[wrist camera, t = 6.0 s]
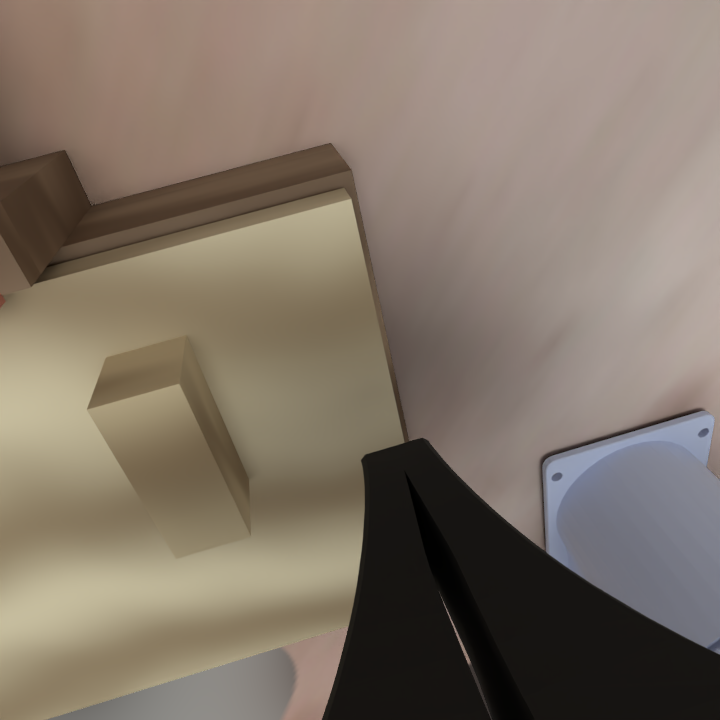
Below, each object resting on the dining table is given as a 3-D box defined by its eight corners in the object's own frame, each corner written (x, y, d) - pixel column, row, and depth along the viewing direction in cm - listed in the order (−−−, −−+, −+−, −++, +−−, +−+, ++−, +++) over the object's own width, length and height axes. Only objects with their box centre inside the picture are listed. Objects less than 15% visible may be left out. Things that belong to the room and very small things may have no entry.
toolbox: (413, 509, 26) (457, 628, 21) (13, 628, 25) (-42, 784, 20) (317, 85, 16) (355, 115, 11) (-339, 253, 15) (-616, 369, 10)
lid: (430, 576, 22) (458, 653, 20) (-15, 713, 21) (-51, 813, 19) (343, 187, 14) (371, 228, 11) (-391, 384, 13) (-553, 479, 10)
